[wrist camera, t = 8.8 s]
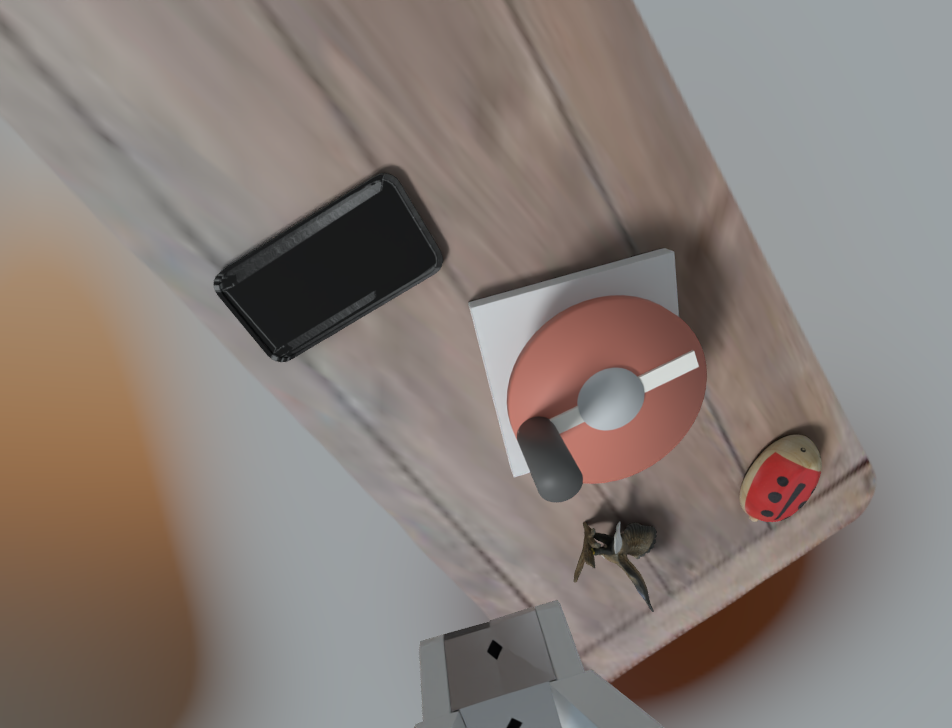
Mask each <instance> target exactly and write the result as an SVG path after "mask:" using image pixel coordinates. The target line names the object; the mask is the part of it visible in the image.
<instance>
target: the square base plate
mask: <svg viewBox="0 0 952 728" xmlns="http://www.w3.org/2000/svg"><path fill="white" fill-rule="evenodd" d="M610 295H626V296H635V297H640V298H643V299H647V300H650V301H652V302H655V303H657V304H659V305H661V306H663V307H664V308H666V309H667V310H669V311H671V312H672V313H674V314H675V315H677V316H678V317H679V309H678V296H677V283H676V269H675V256H674V251H671V250H669V249H666V248H662V249H659V250H655V251H652V252H648V253H644V254H641V255H637V256H634V257H630V258H626V259H623V260H619V261H616V262H612V263H608V264H605V265H601V266H598V267H594V268H590V269H587V270H583V271H579V272H576V273H572V274H569V275H565V276H561V277H558V278H554V279H551V280H547V281H543V282H540V283H536V284H533V285H529V286H525V287H522V288H518V289H515V290H511V291H507V292H504V293H500V294H497V295H493V296H489V297H486V298H482V299H479V300H475V301H471V302H468V304H469V308H470V312H471V316H472V320H473V323H474V327H475V331H476V335H477V339H478V343H479V347H480V351H481V355H482V359H483V363H484V366H485V370H486V374H487V378H488V382H489V386H490V390H491V394H492V398H493V402H494V405H495V409H496V413H497V417H498V421H499V425H500V429H501V433H502V437H503V441H504V445H505V448H506V452H507V456H508V460H509V464H510V468H511V471H512V473H513V476H514V477H516V476H520V475H523V474H527V473H530V470H529V468H528V466H527V463H526V461H525V458H524V456H523V453H522V451H521V449H520V446H519V444H518V441H517V439H516V437H515V434H514V432H513V430H512V427H511V425H510V421H509V417H508V411H507V389H508V384H509V378H510V375H511V372H512V369H513V366H514V364H515V362H516V360H517V358H518V356H519V354H520V352H521V351H522V349H523V348H524V346H525V345H526V343H527V342H528V341H529V340H530V338H531V337H532V336H533V335H534V334H535V332H536V331H538V330H539V329H540V328H541V327H542V326H543V325H544V324H545V323H546V322H547V321H549V320H550V319H551V318H553V317H554V316H556V315H557V314H558V313H560V312H562V311H564V310H565V309H567V308H569V307H571V306H573V305H576V304H578V303H580V302H583V301H586V300H590V299H593V298H597V297H603V296H610Z"/></svg>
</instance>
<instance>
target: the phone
mask: <svg viewBox="0 0 952 728" xmlns="http://www.w3.org/2000/svg"><path fill="white" fill-rule="evenodd" d="M442 263H443V257H442V254H441V252H440V249H439V248H438V246H437V244H436V243H435V241H434V239H433V238H432V236H431V234H430V232H429V231H428V229H427V227H426V226H425V224H424V222H423V221H422V219H421V217H420V216H419V214H418V212H417V211H416V209H415V207H414V205H413V204H412V202H411V200H410V199H409V197H408V195H407V194H406V192H405V190H404V189H403V187H402V185H401V184H400V182H399V181H398V179H397V178H396V177H394V176H393V175H391V174H387V173H381V174H378V175H376V176H374V177H373V178H371V179H369V180H368V181H366V182H365V183H363V184H361V185H360V186H358V187H357V188H355V189H353V190H352V191H350V192H348V193H347V194H345V195H344V196H342V197H340V198H339V199H337V200H336V201H334V202H332V203H331V204H329V205H327V206H326V207H324V208H323V209H321V210H319V211H318V212H316V213H315V214H313V215H311V216H310V217H308V218H306V219H305V220H303V221H302V222H300V223H298V224H297V225H295V226H294V227H292V228H290V229H289V230H287V231H285V232H284V233H282V234H281V235H279V236H277V237H276V238H274V239H273V240H271V241H269V242H268V243H266V244H265V245H263V246H261V247H260V248H258V249H256V250H255V251H253V252H252V253H250V254H248V255H247V256H245V257H244V258H242V259H240V260H239V261H237V262H235V263H234V264H232V265H231V266H229V267H227V268H226V269H224V270H223V271H221V272H220V273H219V274H218V275H217V276H216V278H215V279H214V289H215V292H216V293H217V295H218V296H219V297H220V299H221V300H222V301H223V302H224V303H225V305H226V306H227V307H228V308H229V309H230V311H231V312H232V313H233V314H234V315H235V317H236V318H237V319H238V320H239V322H240V323H241V324H242V325H243V326H244V328H245V329H246V330H247V331H248V332H249V334H250V335H251V336H252V337H253V338H254V340H255V341H256V342H257V343H258V344H259V346H260V347H261V348H262V349H263V351H264V352H265V353H266V354H267V355H268V356H269V357H270V358H271V359H273V360H275V361H278V362H287V361H289V360H291V359H293V358H295V357H296V356H298V355H300V354H301V353H303V352H305V351H306V350H308V349H310V348H311V347H313V346H315V345H316V344H318V343H320V342H321V341H323V340H325V339H326V338H329V337H330V336H332V335H334V334H335V333H337V332H338V331H340V330H342V329H343V328H345V327H347V326H348V325H350V324H352V323H353V322H355V321H357V320H358V319H360V318H362V317H363V316H365V315H367V314H368V313H370V312H372V311H373V310H375V309H377V308H379V307H380V306H382V305H384V304H385V303H387V302H389V301H390V300H392V299H394V298H395V297H397V296H399V295H400V294H402V293H404V292H405V291H407V290H409V289H410V288H412V287H414V286H415V285H417V284H419V283H420V282H422V281H424V280H426V279H427V278H429V277H431V276H432V275H434V274H435V273H437V272H438V271H439V270H440V268H441V267H442Z"/></svg>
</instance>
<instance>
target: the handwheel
mask: <svg viewBox="0 0 952 728" xmlns="http://www.w3.org/2000/svg"><path fill="white" fill-rule="evenodd" d="M706 381H707V370H706V361H705V357H704V353H703V350H702V347H701V345H700V342H699V341H698V339H697V337H696V335H695V334H694V332H693V331H692V330H691V329H690V327H689V326H688V325H687V324H686V323H685V322H684V321H683V320H682V319H681V318H679V317H678V316H677V315H675V314H674V313H672V312H671V311H669V310H667V309H666V308H664V307H663V306H661V305H659V304H657V303H655V302H652V301H650V300H647V299H643V298H640V297H635V296H626V295H610V296H603V297H597V298H593V299H590V300H586V301H583V302H580V303H578V304H576V305H573V306H571V307H569V308H567V309H565V310H564V311H562V312H560V313H558V314H557V315H556V316H554V317H553V318H551V319H550V320H549V321H547V322H546V323H545V324H544V325H543V326H542V327H541V328H540V329H539V330H538V331H536V332H535V334H534V335H533V336H532V337H531V338H530V340H529V341H528V342H527V343H526V345H525V346H524V348H523V349H522V351H521V352H520V354H519V356H518V358H517V360H516V362H515V364H514V366H513V369H512V372H511V375H510V378H509V384H508V389H507V411H508V417H509V421H510V425H511V427H512V430H513V432H514V434H515V437H516V439H517V441H518V444H519V446H520V449H521V451H522V453H523V456H524V458H525V461H526V463H527V466H528V468H529V470H530V473H531V475H532V478H533V480H534V482H535V485H536V487H537V490H538V492H539V494H540V495H541V497H542V498H544V499H545V500H547V501H550V502H563V501H566V500H568V499H570V498H572V497H573V496H575V495H576V494H577V493H578V492H579V490H580V489H581V486H582V484H583V483H590V484H594V483H606V482H611V481H616V480H620V479H623V478H626V477H629V476H632V475H634V474H637V473H639V472H641V471H643V470H645V469H647V468H648V467H650V466H652V465H653V464H655V463H656V462H658V461H659V460H661V459H662V458H663V457H664V456H666V455H667V454H668V453H669V452H670V451H672V449H673V448H674V447H675V446H676V445H677V444H678V443H679V442H680V441H681V440H682V439H683V437H684V436H685V435H686V434H687V432H688V431H689V429H690V428H691V426H692V424H693V423H694V421H695V419H696V417H697V415H698V413H699V411H700V408H701V405H702V402H703V399H704V395H705V390H706Z"/></svg>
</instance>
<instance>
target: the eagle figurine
mask: <svg viewBox="0 0 952 728" xmlns="http://www.w3.org/2000/svg"><path fill="white" fill-rule="evenodd" d="M583 526H584V530H585V532H584V535H585V537H584V544H583V550H582V553H581V556H580V558H579V561H578V564H577V567H576V570H575V573H574V582H577V580H578V577H579V575H580V573H581V571H582V568H583V565H584V562H586V564H588V565H590V566H592V567H593V568H595V561H594V555H601V556H602V557H603V558H605V559H607V560H608V561H610V562H613V563H615V564H617V565H618V566H619V567H621V568H622V569H623V570H624V571H625V573H626V574H627V576H628V577H629V579H630V580H631V581H632V582H633V584H634V585H635V587H636V589H637V591H638V592H639V594H640V595H641V596H642V597H643V599H644V600H645V601H646V603H647V605H648V606H649V608H650V609H651V611H652V612H654V611H653V608H652V606H651V604H650V600H649V596H648V590H647V587H646V584H645V582H644V580H643V578H642V576H641V574H640V573H639V571H638V570H637V569H636V567H635V566H634V565H633V564H632V563H631V562H630V561H629V560H628V558H627V554H629V555H632V556H634V557H635V558H636V559H639V558H640V557H642V556H644V555H645V553H649V552H650V550H651V549H653V548H654V544H655V543H656V540H655V538H656V536H657V535H656V533H657V531H656V529H655V528H654V527H653V526H651V527H650V526H647V527H646V526H643V525H642V526H641V525H640V524H638V523H633V524H629V525H628V526H627V528H626V529H625V530H624V533H622V534H620V521H619V523H618V524H617V527H616V533H615V536H614V537H612V536H609V535H606V534H601V533H595V529H594V528H593V529H591V528H590V527H589V526H588V525H587V524H586V522H583ZM594 538H595V539H596V540H598V541H601V542H603V543H604V544H605V546H604V547H601V544H599V543H597V542H596V541H595V539H594Z"/></svg>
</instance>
